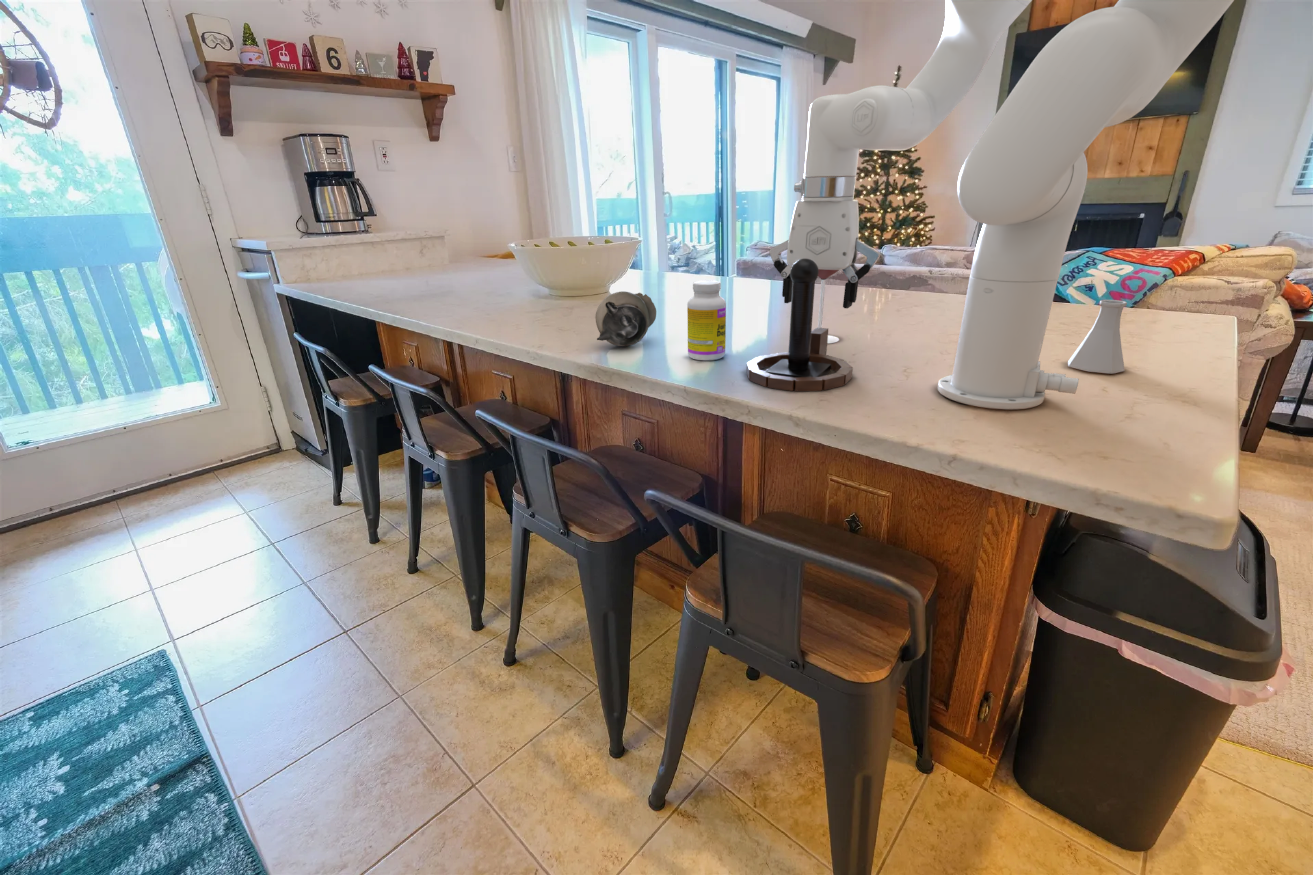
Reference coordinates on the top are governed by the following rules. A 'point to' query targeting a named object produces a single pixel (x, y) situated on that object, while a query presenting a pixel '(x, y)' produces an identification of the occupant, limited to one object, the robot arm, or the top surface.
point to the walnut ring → (802, 383)
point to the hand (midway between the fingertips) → (817, 304)
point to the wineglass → (823, 275)
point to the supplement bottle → (706, 321)
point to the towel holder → (801, 325)
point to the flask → (1102, 342)
